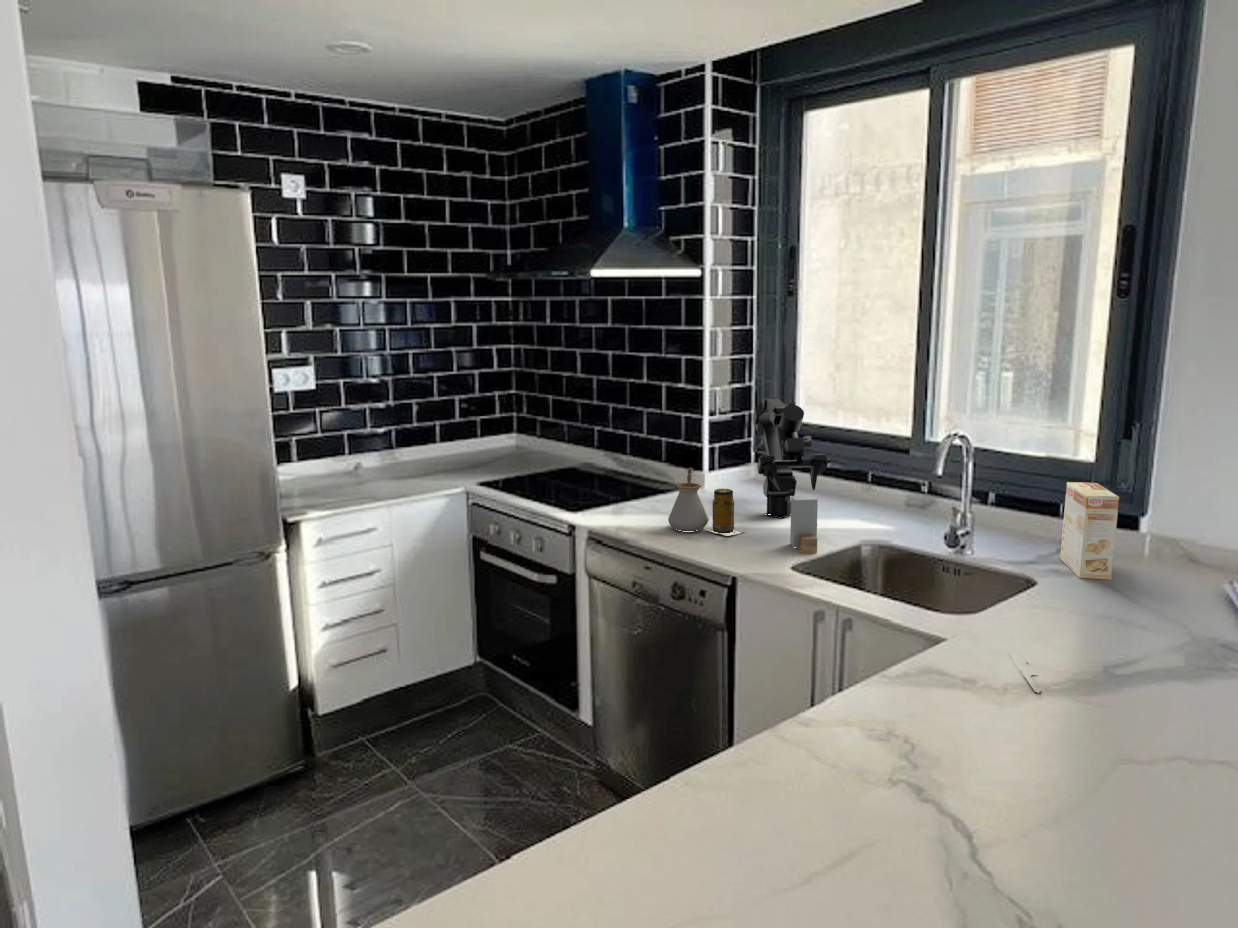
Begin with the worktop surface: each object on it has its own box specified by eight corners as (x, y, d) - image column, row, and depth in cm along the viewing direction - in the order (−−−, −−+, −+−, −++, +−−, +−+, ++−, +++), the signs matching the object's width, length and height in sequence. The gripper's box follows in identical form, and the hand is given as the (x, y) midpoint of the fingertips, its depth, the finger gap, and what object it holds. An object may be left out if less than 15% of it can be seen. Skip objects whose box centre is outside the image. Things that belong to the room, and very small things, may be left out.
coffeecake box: (1112, 580, 192) (1120, 496, 189) (1078, 578, 194) (1085, 495, 190) (1090, 559, 207) (1097, 482, 203) (1058, 558, 208) (1065, 481, 204)
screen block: (790, 543, 225) (791, 496, 223) (812, 543, 225) (813, 495, 223) (793, 548, 221) (794, 500, 219) (816, 547, 222) (817, 499, 219)
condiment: (723, 527, 243) (723, 486, 241) (745, 532, 237) (745, 491, 234) (705, 532, 238) (705, 490, 236) (727, 538, 232) (727, 495, 230)
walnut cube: (797, 548, 221) (798, 534, 220) (812, 548, 221) (813, 533, 220) (801, 553, 217) (801, 538, 216) (816, 553, 217) (817, 538, 216)
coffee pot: (708, 535, 235) (708, 482, 232) (666, 534, 237) (666, 482, 234) (709, 515, 256) (709, 466, 253) (671, 514, 257) (671, 466, 255)
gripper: (759, 426, 231) (767, 474, 222) (827, 424, 231) (838, 472, 222) (754, 449, 240) (761, 496, 231) (819, 448, 240) (829, 495, 231)
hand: (797, 489), depth 229 cm, fingers open, 9 cm apart
